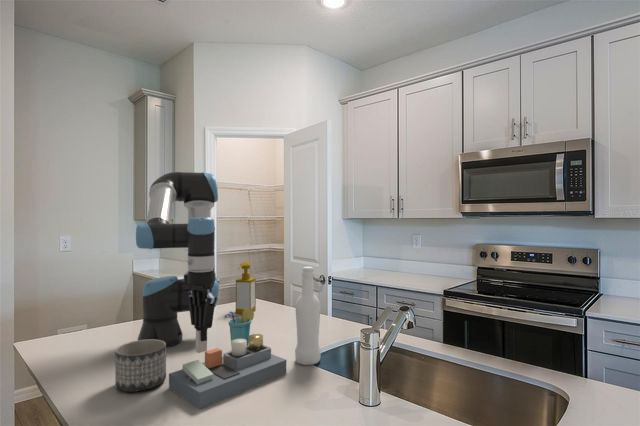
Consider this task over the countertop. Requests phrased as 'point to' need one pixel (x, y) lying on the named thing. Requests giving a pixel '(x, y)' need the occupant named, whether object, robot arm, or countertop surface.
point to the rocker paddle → (198, 371)
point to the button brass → (255, 342)
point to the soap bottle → (245, 290)
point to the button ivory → (239, 347)
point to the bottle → (307, 322)
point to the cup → (240, 325)
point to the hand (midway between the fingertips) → (201, 351)
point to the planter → (140, 365)
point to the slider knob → (213, 357)
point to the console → (229, 377)
